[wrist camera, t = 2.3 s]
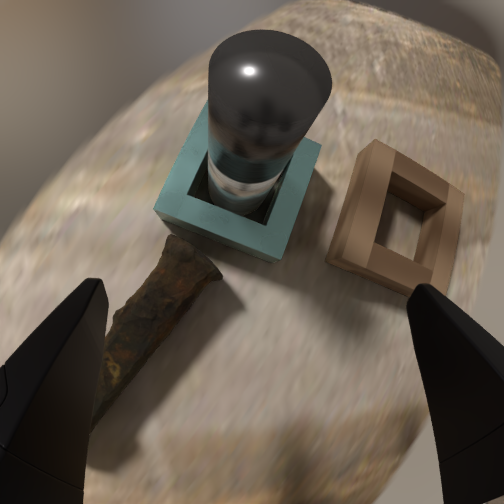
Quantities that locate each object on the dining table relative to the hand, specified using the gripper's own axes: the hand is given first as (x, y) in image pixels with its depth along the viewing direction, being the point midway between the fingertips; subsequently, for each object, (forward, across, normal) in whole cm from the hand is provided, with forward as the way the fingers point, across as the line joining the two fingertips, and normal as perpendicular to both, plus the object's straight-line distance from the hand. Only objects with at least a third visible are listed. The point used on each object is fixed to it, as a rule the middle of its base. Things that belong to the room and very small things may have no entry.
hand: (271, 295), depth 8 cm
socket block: (+14, 0, +4) cm, 15 cm away
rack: (+12, -12, +6) cm, 18 cm away
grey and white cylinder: (+14, 0, +4) cm, 15 cm away
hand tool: (+5, +7, +13) cm, 16 cm away
